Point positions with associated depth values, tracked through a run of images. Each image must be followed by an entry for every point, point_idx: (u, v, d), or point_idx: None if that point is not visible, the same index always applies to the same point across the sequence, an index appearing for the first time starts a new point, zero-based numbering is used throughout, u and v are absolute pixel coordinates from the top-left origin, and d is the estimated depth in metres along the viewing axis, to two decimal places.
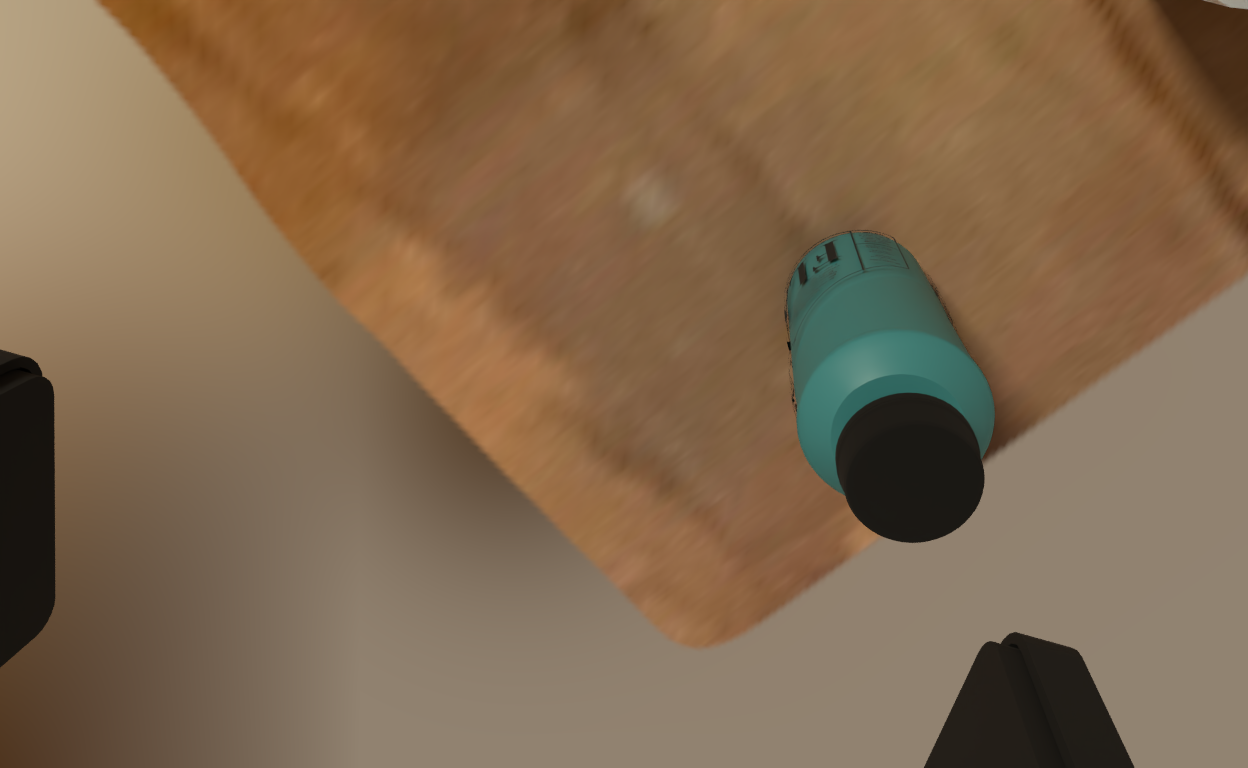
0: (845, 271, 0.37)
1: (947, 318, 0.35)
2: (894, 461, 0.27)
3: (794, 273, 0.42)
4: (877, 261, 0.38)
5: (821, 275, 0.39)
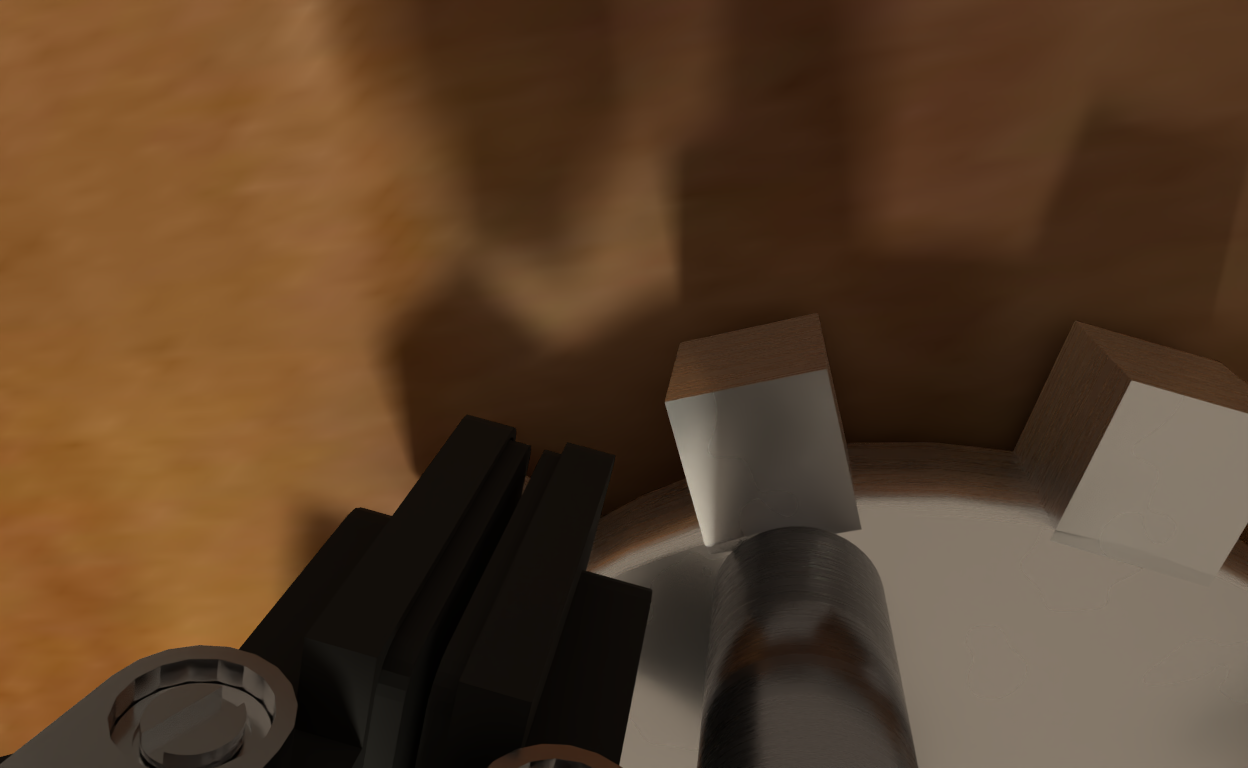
0: None
1: None
2: None
3: None
4: None
5: None
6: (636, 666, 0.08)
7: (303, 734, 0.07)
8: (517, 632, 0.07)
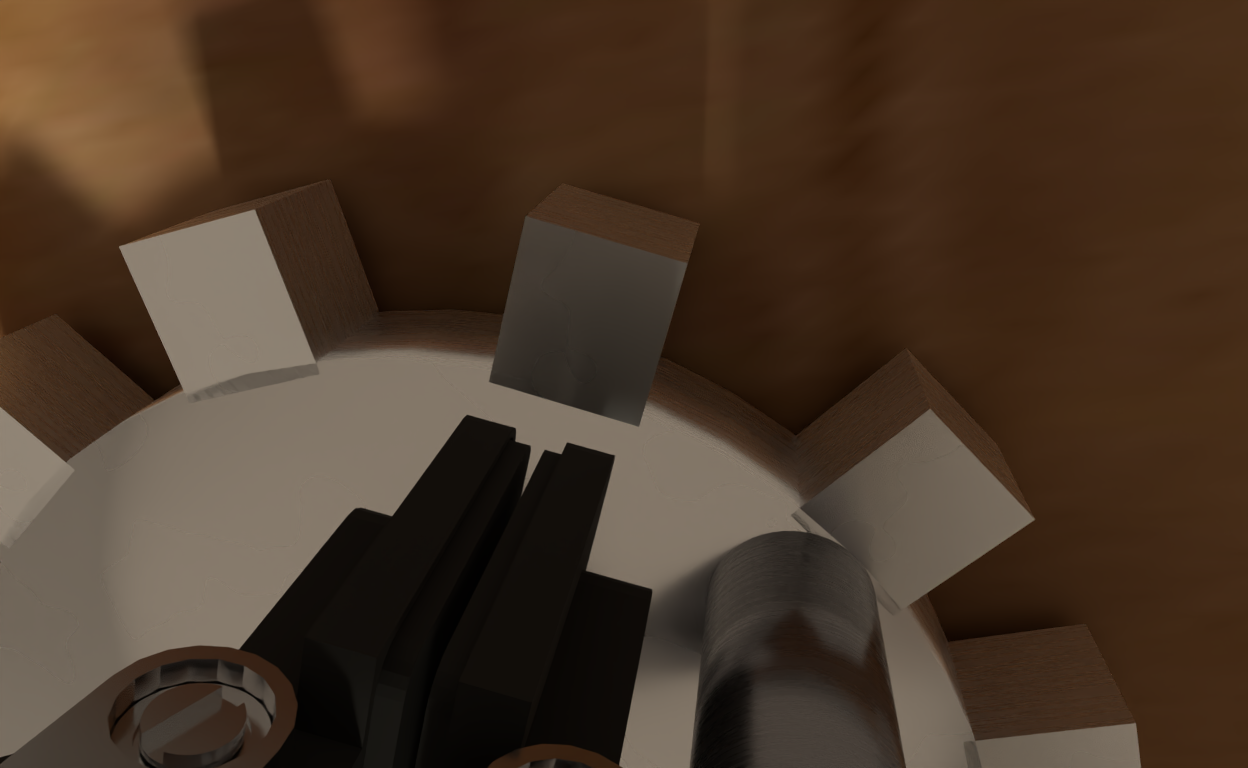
0: None
1: None
2: None
3: None
4: None
5: None
6: (636, 666, 0.08)
7: (303, 734, 0.07)
8: (517, 632, 0.07)
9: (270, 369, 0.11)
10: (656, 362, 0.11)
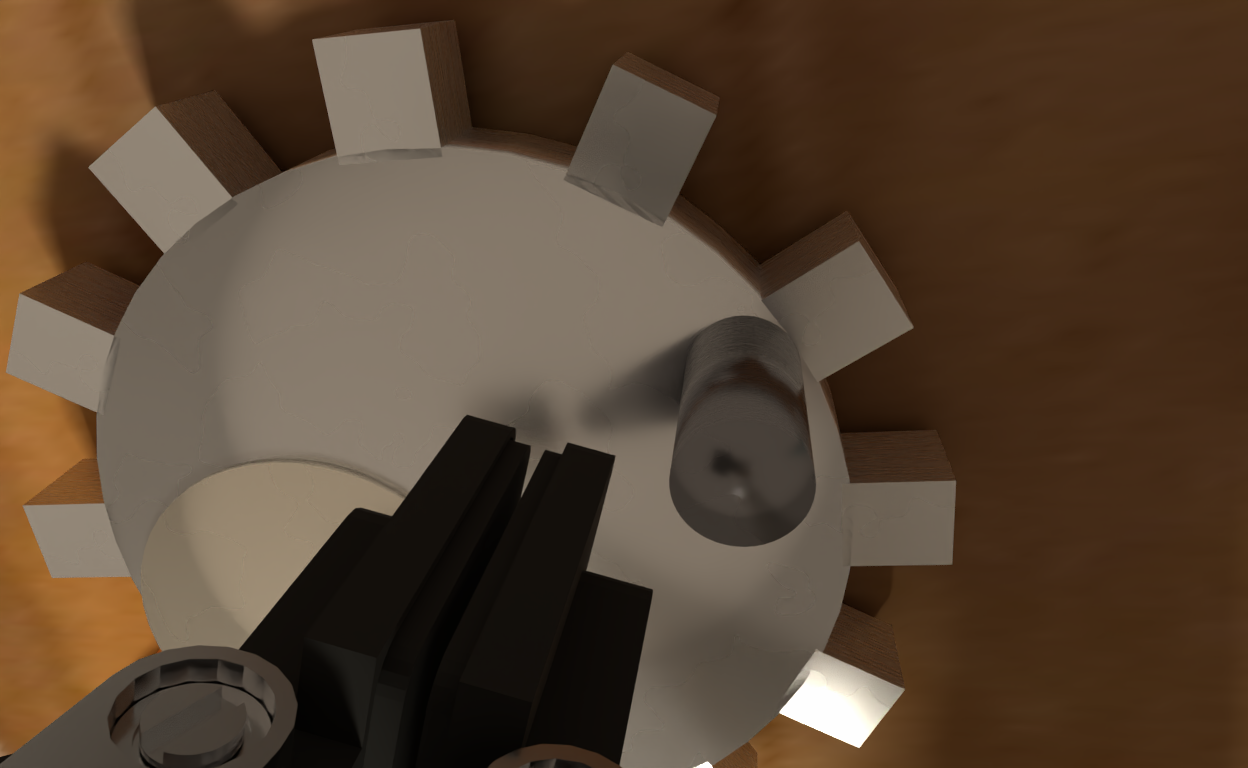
0: None
1: None
2: None
3: None
4: None
5: None
6: (636, 666, 0.08)
7: (303, 734, 0.07)
8: (517, 632, 0.07)
9: (406, 148, 0.16)
10: (683, 182, 0.16)
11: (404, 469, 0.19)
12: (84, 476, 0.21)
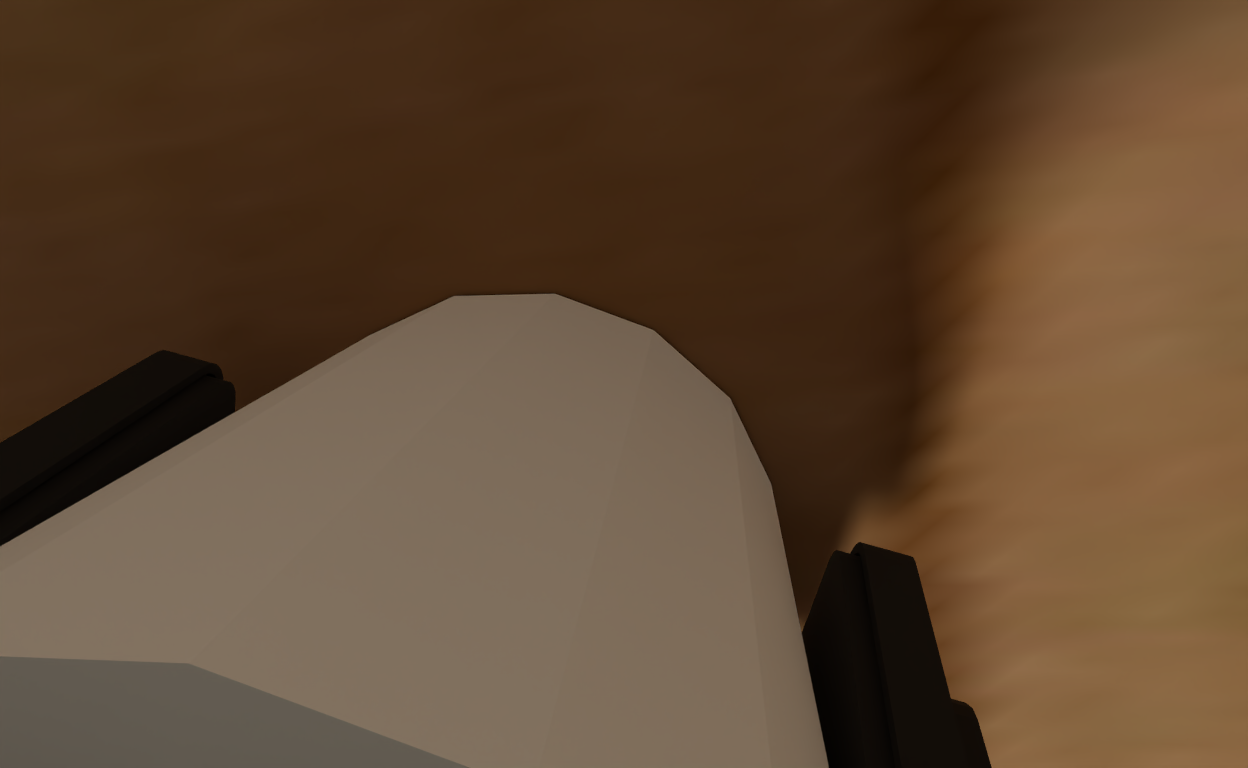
0: None
1: None
2: None
3: None
4: None
5: None
6: None
7: None
8: None
9: None
10: None
11: None
12: None
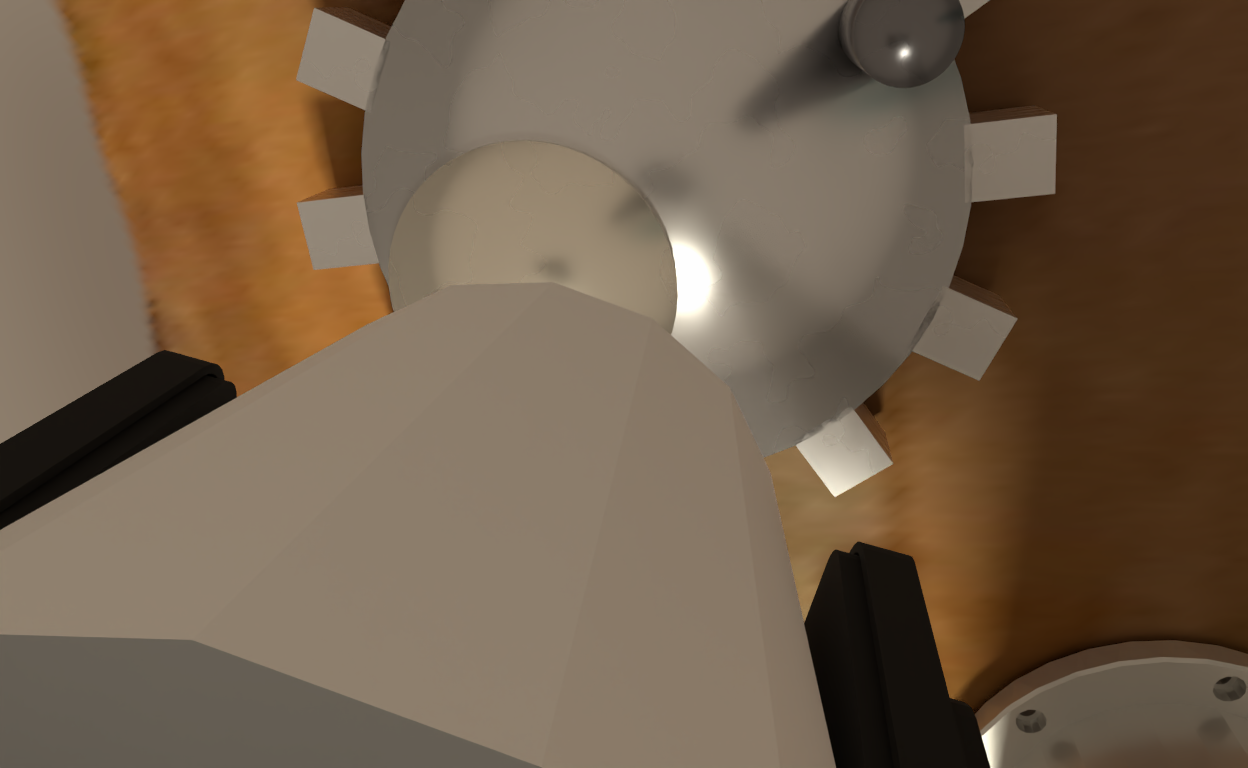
0: None
1: None
2: None
3: None
4: None
5: None
6: None
7: None
8: None
9: None
10: None
11: (609, 142, 0.23)
12: (336, 191, 0.26)
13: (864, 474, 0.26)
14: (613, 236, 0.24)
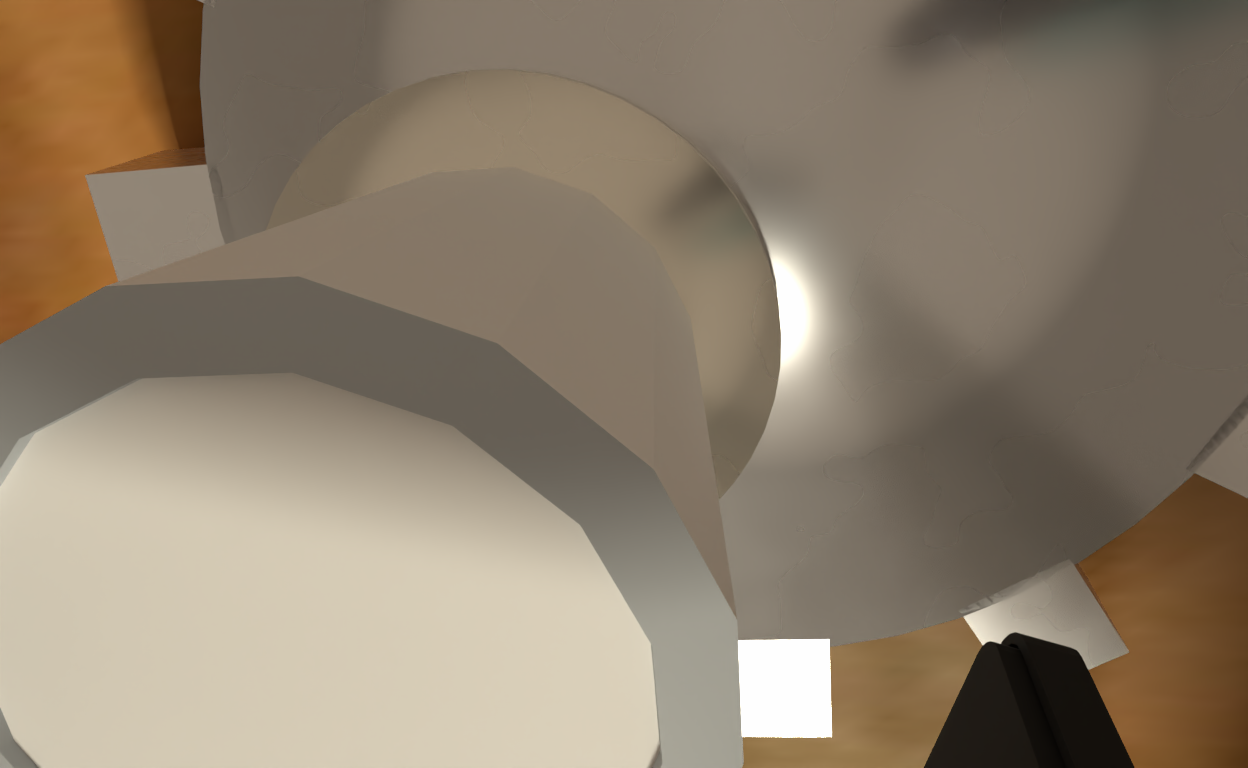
0: None
1: None
2: None
3: None
4: None
5: None
6: None
7: None
8: None
9: None
10: None
11: (671, 78, 0.12)
12: (169, 156, 0.15)
13: None
14: (669, 255, 0.13)
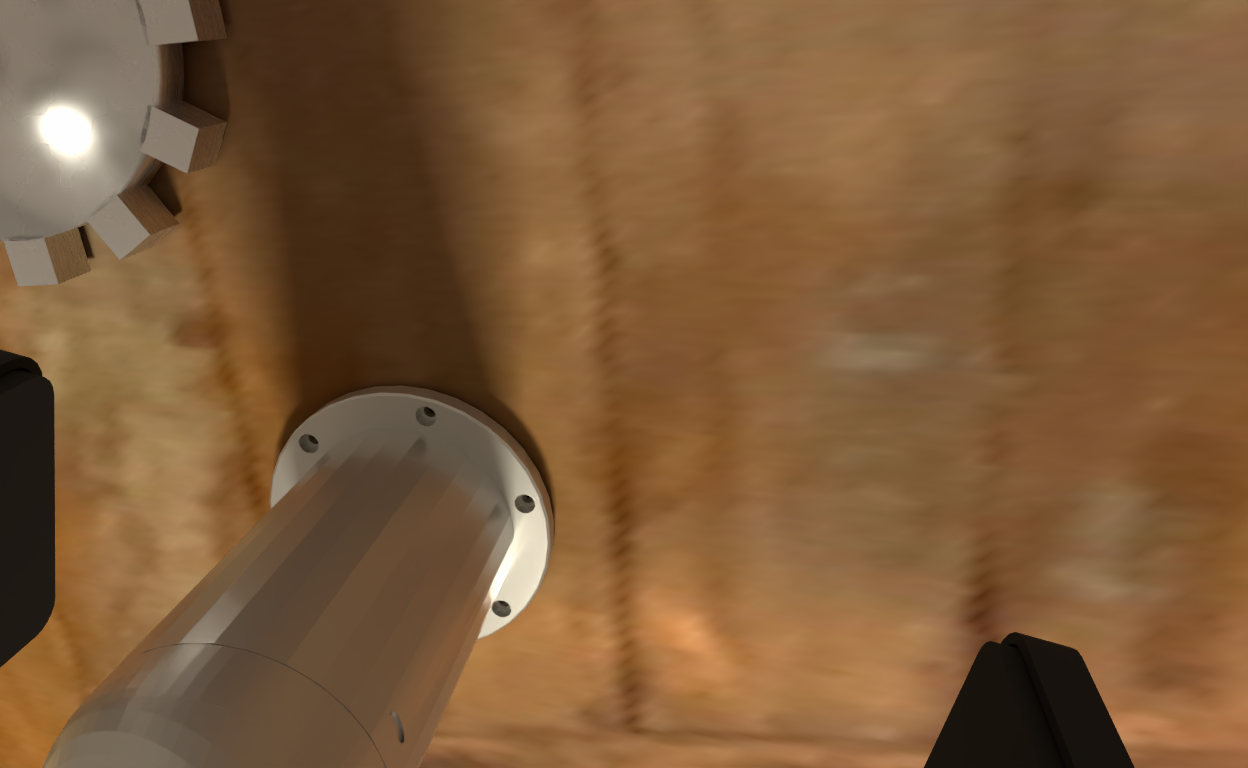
0: None
1: None
2: None
3: None
4: None
5: None
6: None
7: None
8: None
9: None
10: None
11: None
12: None
13: (134, 242, 0.37)
14: None
